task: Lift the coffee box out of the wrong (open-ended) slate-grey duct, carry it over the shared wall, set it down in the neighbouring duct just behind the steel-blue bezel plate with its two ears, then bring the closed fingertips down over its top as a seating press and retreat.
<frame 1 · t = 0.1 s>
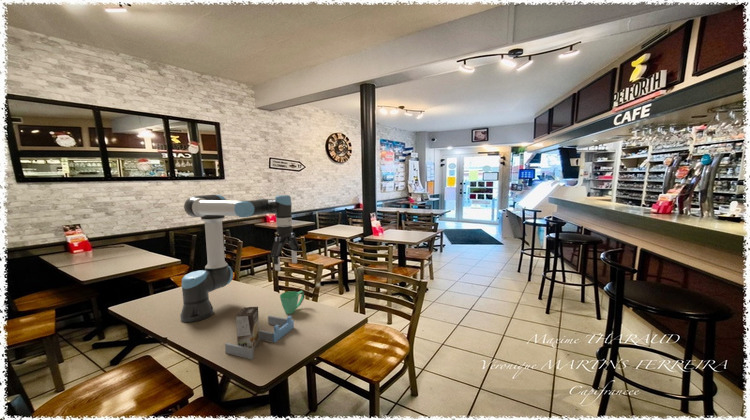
hand: (286, 266, 147), 28 cm above the table, fingers open, 13 cm apart
coffee box: (249, 347, 124), on the table
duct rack: (261, 339, 130), on the table
mug: (293, 310, 159), on the table
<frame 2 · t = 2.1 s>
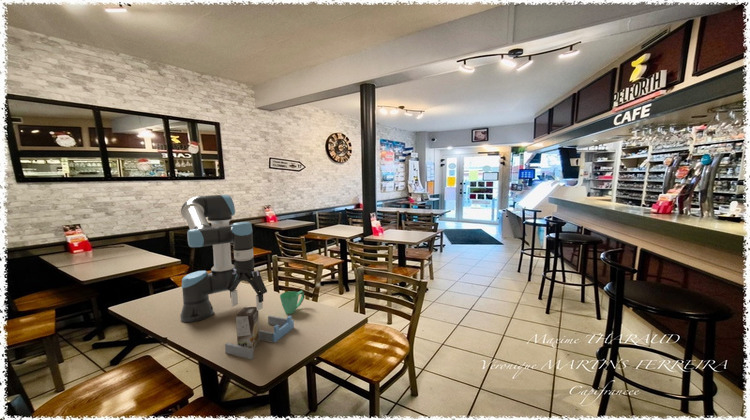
hand: (247, 307, 122), 18 cm above the table, fingers open, 13 cm apart
nothing on the table moved.
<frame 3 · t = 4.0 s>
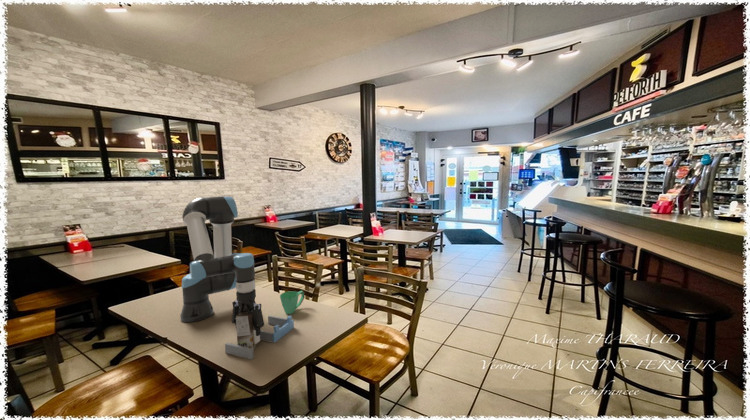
hand: (248, 340, 124), 3 cm above the table, fingers closed on coffee box, 8 cm apart
coffee box: (249, 347, 124), on the table, touching gripper
everything else where it was.
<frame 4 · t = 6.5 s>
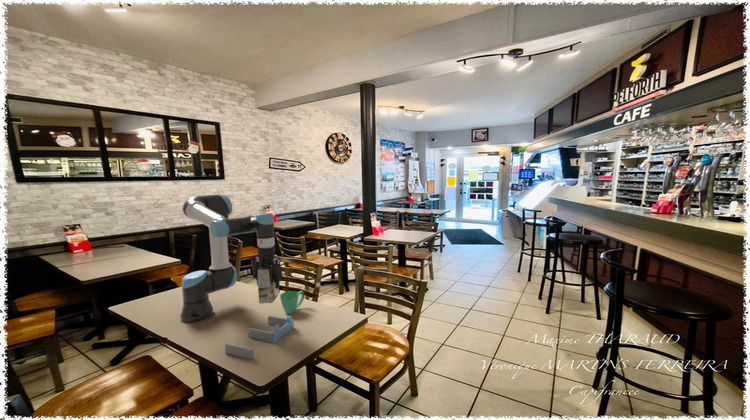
hand: (268, 293, 134), 19 cm above the table, fingers closed on coffee box, 8 cm apart
coffee box: (268, 299, 135), point 16 cm above the table, touching gripper
everything else where it was.
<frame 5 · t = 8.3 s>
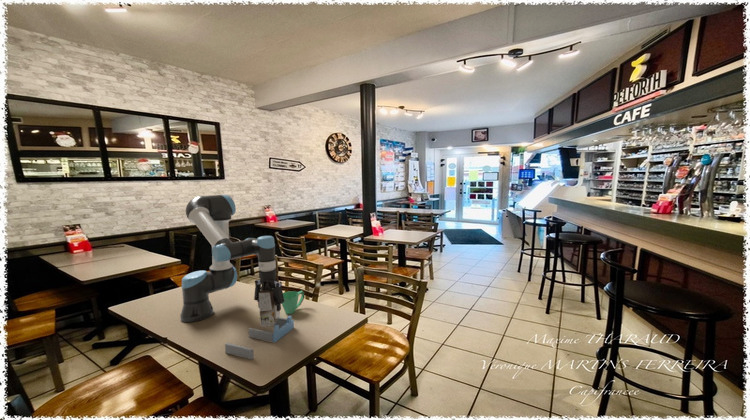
hand: (269, 315, 135), 8 cm above the table, fingers closed on coffee box, 8 cm apart
coffee box: (270, 322, 136), point 5 cm above the table, touching gripper
everything else where it was.
when the fingers open (4 cm above the table, at t = 9.5 s): coffee box drops 2 cm, on the table.
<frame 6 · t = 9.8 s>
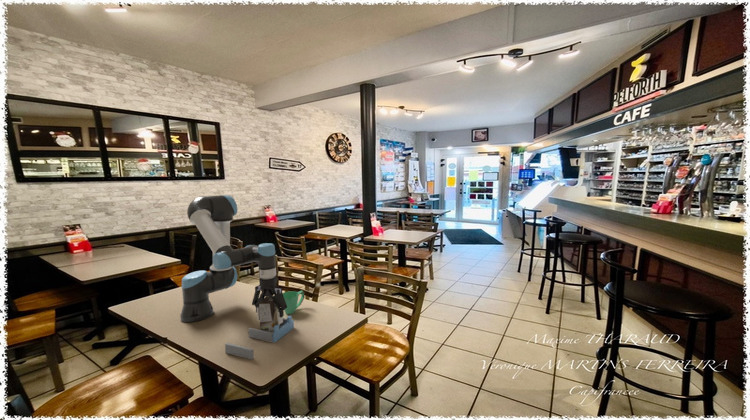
hand: (270, 321, 136), 5 cm above the table, fingers open, 11 cm apart
coffee box: (270, 332, 136), on the table
everything else where it was.
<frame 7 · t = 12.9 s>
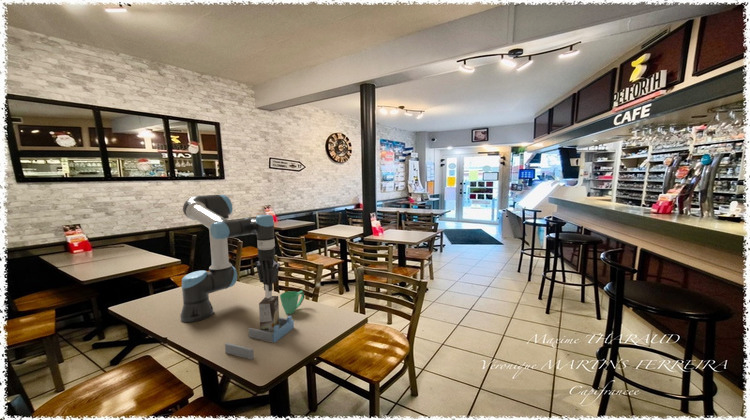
hand: (268, 297, 135), 17 cm above the table, fingers closed
nothing on the table moved.
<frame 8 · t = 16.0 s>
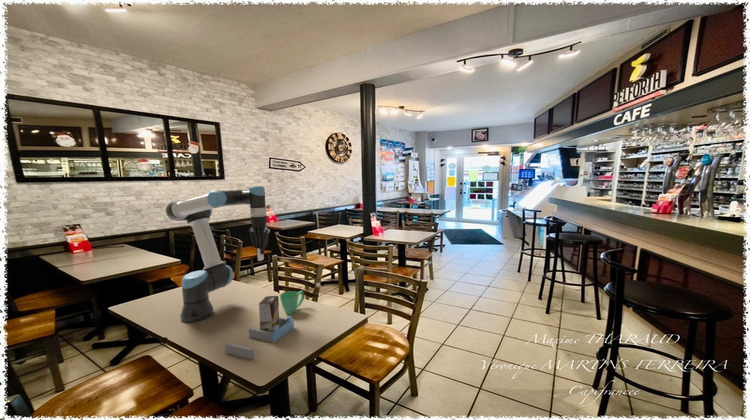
hand: (260, 260, 151), 30 cm above the table, fingers closed
nothing on the table moved.
at the end: coffee box inside the target area on the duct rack (1.1 cm from its centre), point 0.0 cm above the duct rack's base; coffee box tilted 0°; the gripper is holding nothing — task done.
